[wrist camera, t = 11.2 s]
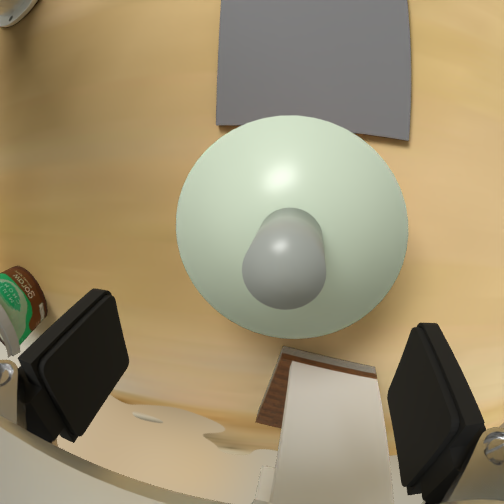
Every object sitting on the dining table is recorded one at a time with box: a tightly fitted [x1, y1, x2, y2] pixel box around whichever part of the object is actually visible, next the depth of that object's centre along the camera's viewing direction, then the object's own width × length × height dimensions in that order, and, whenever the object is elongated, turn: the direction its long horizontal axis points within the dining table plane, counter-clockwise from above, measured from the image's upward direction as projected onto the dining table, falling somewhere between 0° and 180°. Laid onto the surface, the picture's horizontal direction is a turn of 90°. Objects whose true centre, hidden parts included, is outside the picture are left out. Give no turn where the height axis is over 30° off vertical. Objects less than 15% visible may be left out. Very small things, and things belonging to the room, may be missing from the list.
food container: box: [0, 266, 47, 357], centre depth 32 cm, size 12×6×10 cm, turn 56°
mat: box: [216, 0, 411, 141], centre depth 21 cm, size 18×16×1 cm
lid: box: [176, 115, 408, 339], centre depth 18 cm, size 15×15×6 cm
